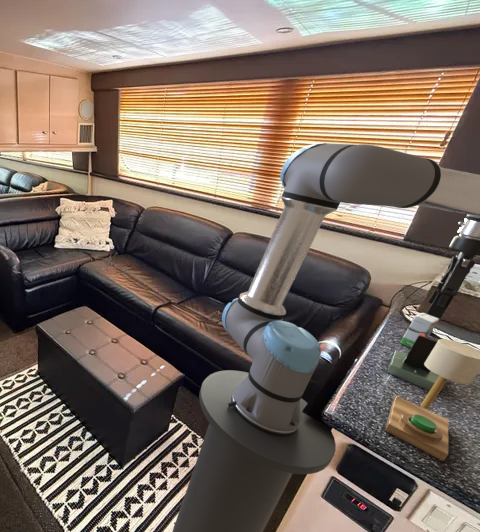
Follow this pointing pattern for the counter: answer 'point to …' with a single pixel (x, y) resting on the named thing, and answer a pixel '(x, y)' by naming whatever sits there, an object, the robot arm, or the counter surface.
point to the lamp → (451, 366)
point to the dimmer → (411, 372)
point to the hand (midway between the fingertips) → (433, 309)
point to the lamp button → (423, 423)
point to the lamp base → (408, 432)
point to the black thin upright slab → (420, 351)
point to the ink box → (419, 328)
